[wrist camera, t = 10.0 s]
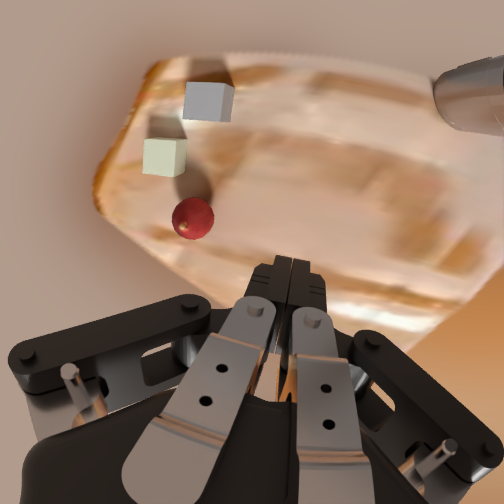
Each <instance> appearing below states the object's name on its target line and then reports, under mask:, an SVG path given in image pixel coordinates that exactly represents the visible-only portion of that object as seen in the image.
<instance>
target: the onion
mask: <svg viewBox="0 0 504 504" xmlns="http://www.w3.org/2000/svg"><path fill="white" fill-rule="evenodd" d="M172 224H173V227H174V230H175V231H176V232H177V233H178V234H179V236H182V237H184V238H186V239H193V240H195V239H198V238H202V237H203V236H205V235H206V234H207V233H208V232H209V231H210V230H211V228H212V226H213V224H214V213H213V211H212V208H211V207H210V206H209V204H208V203H207V202H205V201H204V200H202V199H200V198H195V197H191V198H187V199H184V200H183V201H181V202H180V203H179V204H178V205H177V206H176V208H175V210H174V211H173V214H172Z"/></svg>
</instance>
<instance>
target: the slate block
mask: <svg viewBox="0 0 504 504" xmlns="http://www.w3.org/2000/svg"><path fill="white" fill-rule="evenodd" d="M234 89H235V88H234V87H232V86H230V85H228V84H226V83H212V82H187V84H186V92H185V100H184V109H183V118H182V119H189V120H203V121H215V122H230V119H231V112H232V104H233V97H234Z"/></svg>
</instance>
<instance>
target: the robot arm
mask: <svg viewBox="0 0 504 504" xmlns="http://www.w3.org/2000/svg"><path fill="white" fill-rule="evenodd" d="M434 98H435V102H436V106H437V108H438V111H439V113H440V114H441V116H442V118H443V119H444V120H445V121H446V122H447V123H448V124H449V125H450V126H451V127H453V128H455V129H457V130H460V131H466V132H474V133H481V134H488V135H495V136H501V137H504V55H501V56H498V57H494V58H492V57H488V58H484V59H481V60H477V61H474V62H471V63H467V64H464V65H462V66H458V67H457V68H456V69H453V70H450V71H447V72H445V73H443V74H442V75H441V76H440V77H439V78H438V80H437V82H436V84H435V89H434ZM291 264H292V268H291ZM290 271H291V273H290ZM325 289H326V287H325V281H324V279H323V278H322V277H321V275H319V274H314V273H310V261H305V260H300V259H295V258H294V259H293V263H292V258H290V257H285V256H280V255H276V257H275V260H274V264H273V265H268V264H263V263H261V264H260V265H258V266H257V267H255V269H254V271H253V274H252V276H251V279H250V282H249V284H248V287H247V289H246V292H245V294H244V297H243V298H240V299H239V300H237V302H236V303H235V305H234V307H233V308H229V309H211V305H210V303H209V301H208V300H207V299H205V298H203V297H201V296H198V295H194V294H184V295H179V296H176V297H173V298H169V299H166V300H163V301H160V302H156V303H153V304H150V305H147V306H143V307H140V308H136V309H133V310H130V311H127V312H123V313H120V314H116V315H113V316H110V317H106V318H103V319H100V320H96V321H93V322H89V323H86V324H82V325H79V326H75V327H72V328H69V329H65V330H61V331H58V332H54V333H51V334H47V335H44V336H40V337H36V338H33V339H29V340H25V341H22V342H20V343H18V344H17V345H16V346H14V347H13V349H12V350H11V351H10V353H9V356H8V364H9V367H10V368H11V370H12V372H13V374H14V376H15V378H16V379H17V381H18V384H19V386H20V388H21V390H22V392H23V393H24V395H25V396H26V400H27V404H28V408H29V412H30V416H31V420H32V423H33V427H34V430H35V434H36V437H37V440H38V443H37V444H35V445H34V446H33V447H32V448H31V450H30V451H29V452H28V454H27V456H26V458H25V460H24V463H23V468H22V491H21V498H20V504H458V503H459V502H460V501H461V499H462V498H463V497H464V495H465V494H466V493H467V491H468V490H469V489H470V487H471V486H472V485H473V484H475V483H476V482H477V481H479V480H480V479H481V478H483V477H484V476H486V475H487V474H488V473H490V472H491V471H492V470H493V469H495V468H496V467H497V466H499V465H500V463H501V462H502V460H503V457H504V448H503V444H502V442H501V440H500V439H499V437H498V436H497V435H496V434H494V433H493V432H492V431H491V430H490V429H489V428H488V427H487V426H486V425H485V424H484V423H483V422H481V421H480V420H479V419H478V418H477V417H476V416H475V415H474V414H473V413H471V412H470V411H469V410H468V409H467V408H466V407H465V406H464V405H463V404H461V403H460V402H459V401H458V400H457V399H456V398H455V397H454V396H453V395H451V394H450V393H449V392H448V391H447V390H446V389H445V388H443V387H442V386H441V385H440V384H439V383H438V382H437V381H436V380H434V379H433V378H432V377H431V376H430V375H429V374H427V372H425V371H424V370H423V369H422V368H421V367H420V366H419V365H417V364H416V363H415V362H414V361H413V360H412V359H411V358H409V357H408V356H407V355H406V354H405V353H404V352H402V351H401V350H400V349H399V348H398V347H397V346H395V345H394V344H393V343H392V342H391V341H390V340H388V339H387V338H386V337H385V336H384V335H382V334H380V333H378V332H376V331H372V330H361V331H358V332H357V333H356V334H355V335H354V337H351V336H349V335H346V334H344V333H342V332H340V331H338V330H336V329H335V328H334V327H333V322H332V319H331V317H330V316H329V315H328V314H327V304H326V290H325ZM279 329H280V330H279ZM278 333H279V335H278ZM277 337H278V341H277ZM276 341H277V347H276V352H275V353H276V354H281V359H280V363H279V366H278V370H277V383H276V397H275V402H268V401H265V400H263V399H260V398H258V397H256V396H254V393H255V390H256V387H257V384H258V382H259V379H260V376H261V373H262V370H263V366H264V363H265V362H266V360H267V357H268V353H269V352H271V353H274V349H275V345H276ZM170 342H171V347H169V348H166V349H164V350H161V351H158V352H156V353H153V354H150V355H147V356H145V357H142V355H143V354H144V353H145V352H146V351H148V350H151V349H153V348H156V347H159V346H161V345H164V344H167V343H170ZM141 357H142V358H141ZM374 382H375V383H376V384H377V385H378V386H379V387H380V388H381V389H382V390H383V391H384V392H385V393H386V394H387V395H388V396H389V397H390V398H391V399H392V400H393V401H394V404H395V411H393V410H392V409H391V408H390V407H389V406H388V405H387V404H386V403H385V402H384V401H383V400H382V399H381V398H380V397H379V396H378V395H377V394H376V393H375V392H374V391H373V390H372V389H371V386H372V384H373V383H374ZM177 385H178V387H177V388H175V389H170V388H172V387H174V386H177ZM167 389H170V390H167ZM165 390H166V391H165ZM148 397H149V398H148ZM143 399H144V400H143ZM141 400H142V401H141ZM138 401H140V402H138ZM135 402H137V403H135ZM133 403H135V404H133ZM131 404H133V405H131ZM128 405H131V406H128ZM125 406H128V407H126V408H123V409H121V410H119V411H116V412H114V413H111V414H109V415H108V413H109V412H112V411H114V410H117V409H120V408H122V407H125Z"/></svg>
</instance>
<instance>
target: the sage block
mask: <svg viewBox="0 0 504 504" xmlns="http://www.w3.org/2000/svg"><path fill="white" fill-rule="evenodd" d="M186 150H187V139H179V138H163V137H155V138H147V139H144V154H143V174H152V175H161V176H170V177H175V176H177V175H180V174H182V173H184V172H185V162H186Z"/></svg>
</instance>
